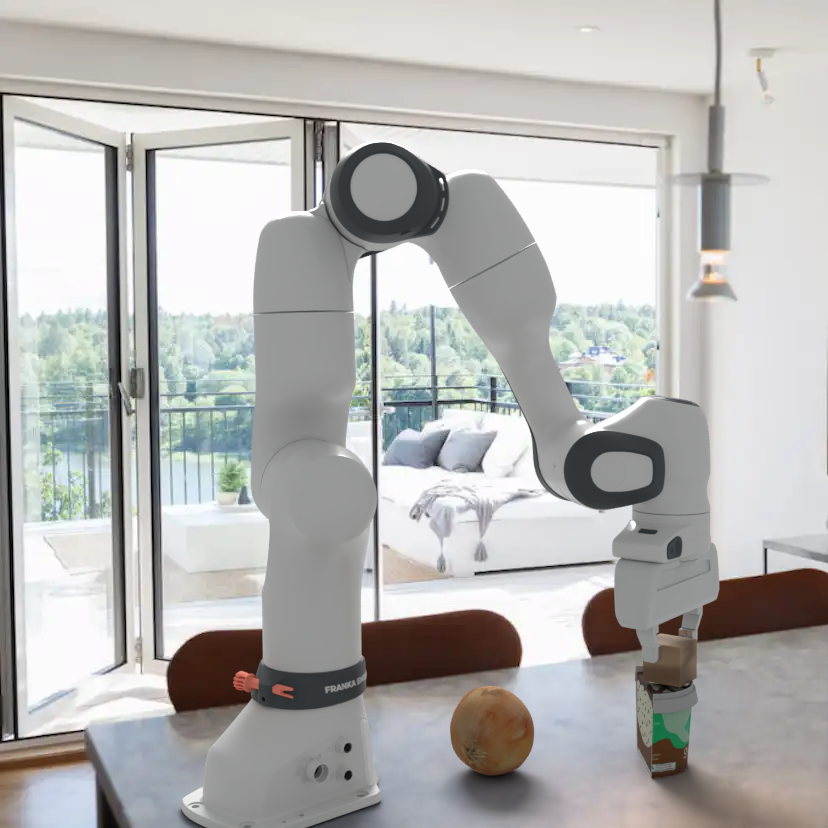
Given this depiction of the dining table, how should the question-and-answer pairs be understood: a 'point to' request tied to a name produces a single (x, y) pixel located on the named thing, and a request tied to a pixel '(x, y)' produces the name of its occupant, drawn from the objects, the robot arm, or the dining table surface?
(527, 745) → the onion
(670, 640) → the walnut block
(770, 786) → the dining table surface
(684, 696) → the food container
